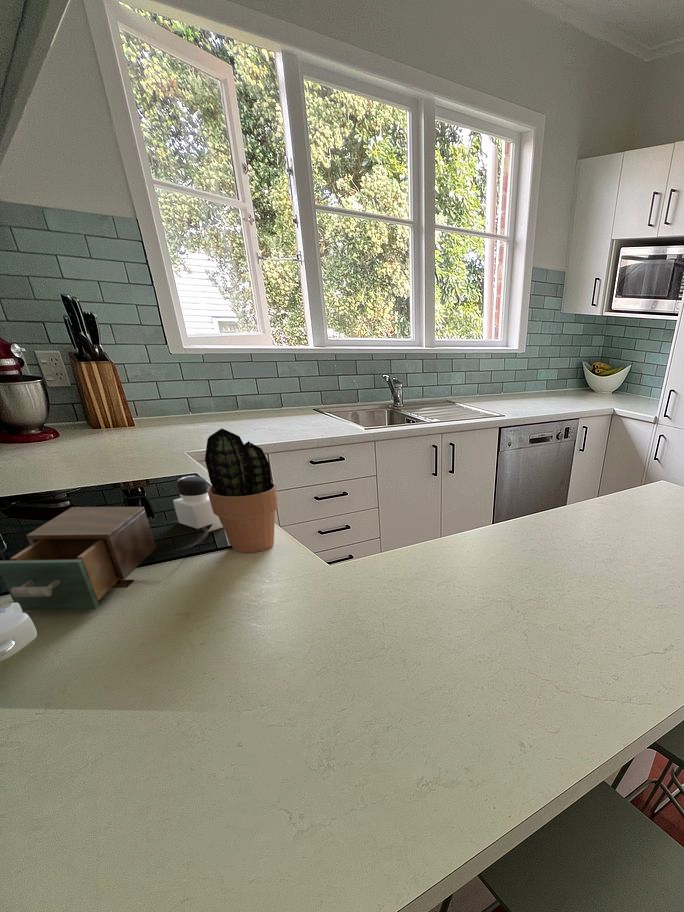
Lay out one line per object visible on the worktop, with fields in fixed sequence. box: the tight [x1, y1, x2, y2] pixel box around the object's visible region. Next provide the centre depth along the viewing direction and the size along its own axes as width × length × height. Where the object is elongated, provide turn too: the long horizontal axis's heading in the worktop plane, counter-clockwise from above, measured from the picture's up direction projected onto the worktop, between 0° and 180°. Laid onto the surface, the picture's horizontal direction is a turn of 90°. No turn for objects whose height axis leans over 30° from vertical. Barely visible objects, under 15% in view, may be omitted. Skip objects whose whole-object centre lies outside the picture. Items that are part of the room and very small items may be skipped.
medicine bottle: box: [172, 475, 224, 534], centre depth 127 cm, size 7×7×12 cm
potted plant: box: [204, 428, 279, 553], centre depth 115 cm, size 14×14×25 cm
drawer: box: [0, 539, 120, 612], centre depth 95 cm, size 19×12×9 cm, turn 7°
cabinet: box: [25, 506, 157, 589], centre depth 106 cm, size 16×14×11 cm
